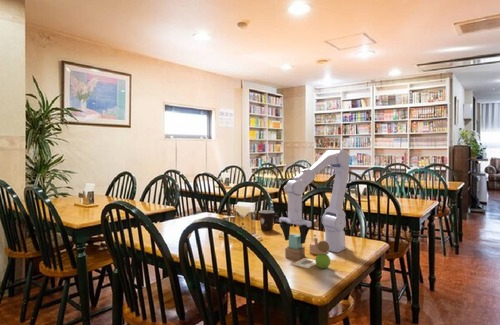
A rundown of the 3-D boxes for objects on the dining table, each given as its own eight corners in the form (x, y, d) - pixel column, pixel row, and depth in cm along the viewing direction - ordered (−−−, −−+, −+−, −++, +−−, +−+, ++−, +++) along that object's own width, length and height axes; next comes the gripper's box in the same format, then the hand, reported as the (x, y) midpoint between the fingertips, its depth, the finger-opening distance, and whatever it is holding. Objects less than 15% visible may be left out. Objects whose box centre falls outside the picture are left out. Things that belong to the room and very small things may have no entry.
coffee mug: (256, 228, 191) (256, 210, 191) (271, 227, 194) (271, 209, 193) (263, 233, 180) (263, 214, 180) (279, 232, 183) (278, 213, 182)
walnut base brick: (291, 253, 146) (291, 244, 146) (304, 256, 143) (304, 246, 142) (285, 257, 141) (285, 248, 141) (298, 260, 138) (298, 250, 137)
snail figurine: (317, 263, 132) (317, 233, 132) (332, 267, 128) (332, 235, 128) (310, 267, 128) (310, 236, 128) (326, 271, 124) (326, 238, 124)
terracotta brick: (312, 250, 149) (312, 241, 149) (321, 251, 148) (321, 242, 148) (309, 253, 146) (309, 244, 146) (318, 254, 144) (318, 245, 144)
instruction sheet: (304, 258, 139) (304, 257, 139) (319, 262, 134) (319, 261, 134) (292, 264, 132) (292, 263, 132) (308, 268, 127) (308, 267, 127)
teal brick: (293, 245, 144) (293, 233, 144) (302, 247, 142) (302, 235, 142) (288, 247, 141) (288, 235, 141) (296, 249, 139) (297, 237, 138)
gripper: (274, 208, 142) (275, 240, 143) (305, 212, 133) (305, 246, 134) (284, 206, 148) (284, 237, 148) (314, 209, 139) (314, 242, 139)
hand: (294, 241), depth 141 cm, fingers open, 7 cm apart
